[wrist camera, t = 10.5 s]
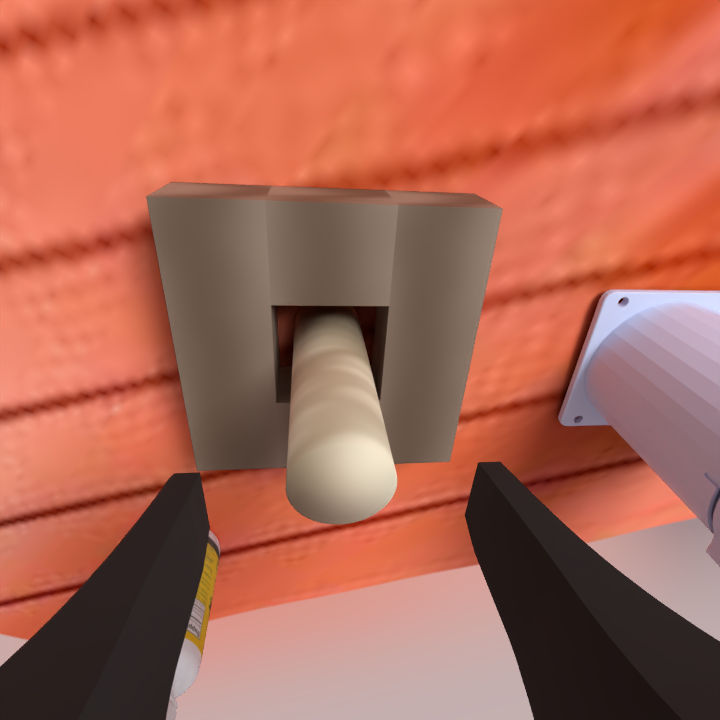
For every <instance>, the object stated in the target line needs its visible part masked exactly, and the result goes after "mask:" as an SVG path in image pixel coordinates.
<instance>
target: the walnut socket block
mask: <svg viewBox="0 0 720 720" xmlns="http://www.w3.org/2000/svg"><path fill="white" fill-rule="evenodd" d="M146 198H147V203H148V209H149V214H150V220H151V225H152V230H153V236H154V241H155V247H156V252H157V257H158V263H159V268H160V274H161V279H162V284H163V290H164V295H165V300H166V306H167V311H168V317H169V322H170V327H171V333H172V338H173V344H174V349H175V354H176V360H177V365H178V371H179V376H180V381H181V387H182V392H183V398H184V403H185V408H186V414H187V419H188V424H189V430H190V435H191V441H192V446H193V451H194V457H195V462H196V468H197V471H208V470H236V469H263V468H287V455H288V437H289V419H290V401H291V383H292V367H280V356H279V335H278V314H277V305H293V306H376V315H375V328H374V341H373V354H372V366H370V367H371V371H372V375H373V379H374V384H375V388H376V392H377V396H378V400H379V404H380V408H381V412H382V416H383V420H384V425H385V429H386V433H387V437H388V441H389V445H390V449H391V453H392V457H393V461H394V464H401V463H428V462H450V458H451V453H452V449H453V444H454V439H455V434H456V430H457V425H458V420H459V415H460V410H461V406H462V401H463V396H464V391H465V387H466V382H467V377H468V372H469V367H470V363H471V358H472V353H473V348H474V344H475V339H476V334H477V329H478V324H479V320H480V315H481V310H482V305H483V301H484V296H485V291H486V286H487V281H488V277H489V272H490V267H491V262H492V258H493V253H494V248H495V243H496V238H497V234H498V229H499V224H500V219H501V215H502V210H503V209H502V208H500V207H499V206H497V205H495V204H493V203H491V202H489V201H487V200H485V199H484V198H482V197H480V196H478V195H476V194H467V193H441V192H415V191H389V190H363V189H337V188H311V187H285V186H259V185H233V184H207V183H181V182H171V183H169V184H167V185H165V186H164V187H162V188H160V189H158V190H157V191H155V192H153V193H151V194H150V195H148V196H146Z"/></svg>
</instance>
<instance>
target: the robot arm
mask: <svg viewBox="0 0 720 720" xmlns="http://www.w3.org/2000/svg"><path fill="white" fill-rule="evenodd" d="M623 297H624V298H623ZM621 298H623V301H622V302H621V303H619V304H618V302H619V300H620V299H621ZM577 416H578V417H577ZM575 417H577V418H575ZM558 420H559V421H560V423H561V424H562V425H564V426H592V425H611V426H612V427H613V428H614V430H615V431H616V432H617V433H618V434H619V435H620V436H621V437H622V438H623V439H624V440H625V441H626V442H627V443H628V444H629V445H630V446H631V447H632V449H633V450H634V451H635V452H636V453H637V454H638V455H639V456H640V457H641V458H642V459H643V460H644V461H645V462H646V463H647V464H648V465H649V466H650V468H651V469H652V470H653V471H654V472H655V473H656V474H657V475H658V476H659V477H660V478H661V479H662V480H663V481H664V482H665V483H666V484H667V485H668V487H669V488H670V489H671V490H672V491H673V492H674V493H675V494H676V495H677V496H678V497H679V498H680V499H681V500H682V501H683V502H684V503H685V504H686V506H687V507H688V508H689V509H690V510H691V511H692V512H693V513H694V514H695V515H696V516H697V517H698V518H699V519H700V520H701V521H702V522H703V523H704V525H705V526H706V527H707V528H708V529H709V530H710V531H711V532H712V533H713V534H714V537H713V540H712V542H711V544H710V545H709V547H708V548H707V550H706V552H707V553H708V554H709V555H710V556H711V557H712V558H713V559H714V561H715V562H716V563H717V564H718V565H719V566H720V291H692V290H608V291H607V292H605V293H604V294H603V295H602V296H601V298H600V300H599V302H598V305H597V308H596V311H595V314H594V317H593V319H592V322H591V325H590V328H589V331H588V334H587V336H586V339H585V342H584V345H583V348H582V351H581V353H580V356H579V359H578V362H577V365H576V368H575V370H574V373H573V376H572V379H571V382H570V385H569V387H568V390H567V393H566V396H565V399H564V402H563V404H562V407H561V410H560V413H559V416H558ZM465 517H466V521H467V525H468V529H469V533H470V537H471V541H472V544H473V548H474V551H475V554H476V557H477V559H478V562H479V565H480V567H481V570H482V572H483V575H484V577H485V580H486V582H487V585H488V587H489V590H490V592H491V595H492V597H493V600H494V602H495V605H496V607H497V610H498V612H499V615H500V617H501V620H502V622H503V625H504V627H505V630H506V632H507V635H508V637H509V640H510V643H511V645H512V648H513V651H514V654H515V657H516V660H517V663H518V666H519V670H520V673H521V676H522V679H523V683H524V686H525V689H526V692H527V696H528V699H529V703H530V706H531V710H532V713H533V717H534V720H720V641H718V640H716V639H715V638H713V637H712V636H710V635H708V634H707V633H705V632H704V631H702V630H701V629H699V628H698V627H696V626H695V625H693V624H692V623H690V622H689V621H687V620H686V619H684V618H683V617H682V616H680V615H678V614H677V613H676V612H674V611H673V610H671V609H670V608H668V607H667V606H665V605H664V604H662V603H661V602H660V601H658V600H657V599H655V598H654V597H653V596H651V595H650V594H649V593H647V592H646V591H645V590H643V589H642V588H641V587H639V586H638V585H637V584H636V583H634V582H633V581H631V580H630V579H629V578H628V577H626V576H625V575H624V574H622V573H621V572H620V571H618V570H617V569H616V568H615V567H614V566H612V565H611V564H610V563H608V562H607V561H606V560H605V559H604V558H603V557H601V556H600V555H599V554H598V553H597V552H595V551H594V550H593V549H592V548H591V547H590V546H588V545H587V544H586V543H585V542H584V541H583V540H581V539H580V538H579V537H578V536H577V535H576V534H575V533H574V532H573V531H571V530H570V529H569V528H568V527H567V526H566V525H565V524H564V523H563V522H562V521H560V520H559V519H558V518H557V517H556V516H555V515H554V514H553V513H552V512H551V511H550V510H549V509H548V508H547V507H546V506H545V505H544V504H543V503H542V502H540V501H539V500H538V499H537V498H536V497H535V496H534V495H533V494H532V493H531V492H530V491H529V490H528V489H527V488H526V487H525V486H524V485H523V484H522V483H521V482H520V481H519V480H518V479H517V478H516V477H515V476H514V475H513V474H512V473H511V472H510V471H509V470H508V469H507V468H506V467H505V466H504V465H503V464H502V463H501V462H479V463H478V465H477V469H476V473H475V477H474V481H473V485H472V489H471V493H470V497H469V501H468V505H467V509H466V513H465ZM209 530H210V526H209V521H208V515H207V510H206V504H205V499H204V493H203V488H202V482H201V477H200V473H176V474H173V475H172V476H171V477H170V478H169V480H168V481H167V482H166V484H165V485H164V487H163V488H162V489H161V491H160V492H159V493H158V495H157V496H156V497H155V499H154V500H153V501H152V503H151V504H150V505H149V507H148V508H147V509H146V511H145V512H144V513H143V514H142V516H141V517H140V518H139V520H138V521H137V522H136V523H135V525H134V526H133V527H132V528H131V530H130V531H129V532H128V533H127V534H126V536H125V537H124V538H123V539H122V541H121V542H120V543H119V544H118V546H117V547H116V548H115V549H114V550H113V552H112V553H111V554H110V555H109V556H108V557H107V559H106V560H105V561H104V562H103V563H102V564H101V565H100V566H99V568H98V569H97V570H96V571H95V572H94V573H93V574H92V575H91V577H90V578H89V579H88V580H87V581H86V582H85V583H84V584H83V586H82V587H81V588H80V589H79V590H78V591H77V592H76V593H75V594H74V595H73V596H72V597H71V598H70V599H69V600H68V602H67V603H66V604H65V605H64V606H63V607H62V608H61V609H60V610H59V611H58V612H57V613H56V614H55V615H54V616H53V617H52V618H51V619H50V620H49V621H48V622H47V623H46V624H45V625H44V626H43V627H42V628H41V629H40V630H39V631H38V632H37V633H36V634H35V635H34V636H33V637H32V638H31V639H29V640H28V641H27V642H26V643H25V644H24V645H23V646H22V647H21V648H20V649H19V650H18V651H17V652H16V653H14V654H13V655H12V656H11V657H10V658H9V659H8V660H7V661H6V662H5V663H4V664H3V665H2V666H1V667H0V720H166V715H167V710H168V704H169V699H170V694H171V689H172V685H173V680H174V676H175V672H176V668H177V664H178V660H179V657H180V653H181V649H182V646H183V642H184V638H185V635H186V631H187V628H188V624H189V620H190V617H191V613H192V609H193V606H194V602H195V598H196V595H197V591H198V587H199V584H200V580H201V576H202V572H203V568H204V562H205V556H206V550H207V543H208V537H209Z"/></svg>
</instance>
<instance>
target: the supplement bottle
mask: <svg viewBox="0 0 720 720" xmlns="http://www.w3.org/2000/svg"><path fill="white" fill-rule="evenodd" d="M219 558H220V544H219V541H218V539H217V537H216V536H215V535H214V534H213V532H212V531H210V530H209V537H208V543H207V550H206V556H205V562H204V568H203V572H202V576H201V580H200V584H199V587H198V591H197V595H196V598H195V602H194V606H193V609H192V613H191V617H190V620H189V624H188V628H187V631H186V635H185V638H184V642H183V646H182V649H181V653H180V657H179V660H178V664H177V668H176V672H175V676H174V680H173V685H172V689H171V694H170V699H169V704H168V710H167V715H166V720H175V718H176V709H177V702H176V700H175V698H177V697H178V696H180V695H181V694H183V693H184V692H185V691H186V690H187V689H188V688H189V687H190V686H191V685H192V683H193V682H194V680H195V679H196V677H197V675H198V672H199V668H200V664H201V660H202V654H203V648H204V642H205V637H206V630H207V625H208V620H209V614H210V609H211V603H212V598H213V592H214V586H215V581H216V575H217V570H218V564H219Z"/></svg>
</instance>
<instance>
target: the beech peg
mask: <svg viewBox="0 0 720 720" xmlns="http://www.w3.org/2000/svg"><path fill="white" fill-rule="evenodd" d="M396 487H397V474H396V470H395V466H394V461H393V457H392V453H391V449H390V445H389V441H388V437H387V433H386V429H385V425H384V420H383V416H382V412H381V408H380V404H379V400H378V396H377V392H376V388H375V384H374V379H373V375H372V371H371V367H370V363H369V359H368V355H367V351H366V347H365V343H364V338H363V334H362V330H361V326H360V322H359V318H358V315H357V312H356V310H355V309H354V307H353V306H302V307H301V308H300V309H299V311H298V313H297V315H296V318H295V328H294V346H293V365H292V383H291V401H290V419H289V437H288V455H287V473H286V494H287V497H288V500H289V502H290V504H291V505H292V506H293V508H294V509H295V510H296V511H297V512H299V513H300V514H301V515H303V516H305V517H307V518H308V519H311V520H313V521H317V522H320V523H326V524H348V523H353V522H357V521H361V520H363V519H366V518H368V517H370V516H372V515H374V514H376V513H377V512H379V511H380V510H381V509H383V508H384V507H385V506H386V505H387V504H388V503H389V501H390V500H391V499H392V497H393V495H394V493H395V490H396Z"/></svg>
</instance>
